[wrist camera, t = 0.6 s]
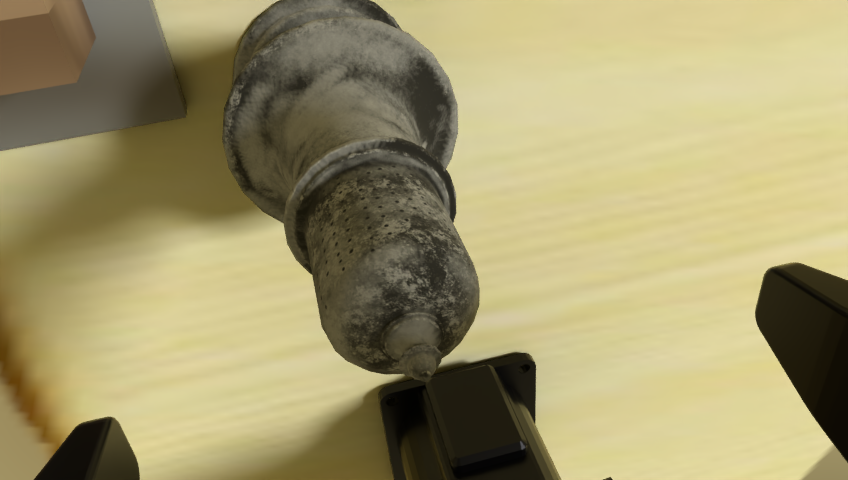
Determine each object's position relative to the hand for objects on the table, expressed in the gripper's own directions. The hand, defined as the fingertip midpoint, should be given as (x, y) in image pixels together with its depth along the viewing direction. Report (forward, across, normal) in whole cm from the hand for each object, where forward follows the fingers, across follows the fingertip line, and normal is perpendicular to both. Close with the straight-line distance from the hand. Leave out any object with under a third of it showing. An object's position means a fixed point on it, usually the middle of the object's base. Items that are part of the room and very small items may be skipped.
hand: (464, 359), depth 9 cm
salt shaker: (+13, 0, +1) cm, 13 cm away
